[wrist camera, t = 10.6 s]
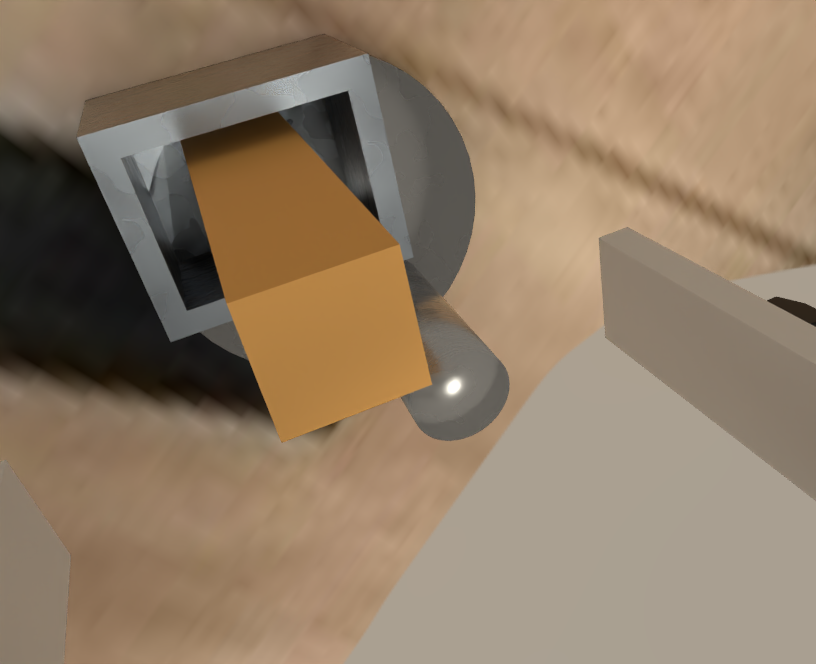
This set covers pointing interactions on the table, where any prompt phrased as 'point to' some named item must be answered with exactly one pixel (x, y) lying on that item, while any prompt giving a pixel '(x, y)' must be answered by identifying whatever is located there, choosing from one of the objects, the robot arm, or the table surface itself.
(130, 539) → the table surface
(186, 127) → the bracket
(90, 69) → the table surface
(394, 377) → the orange rectangular block
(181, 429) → the table surface
